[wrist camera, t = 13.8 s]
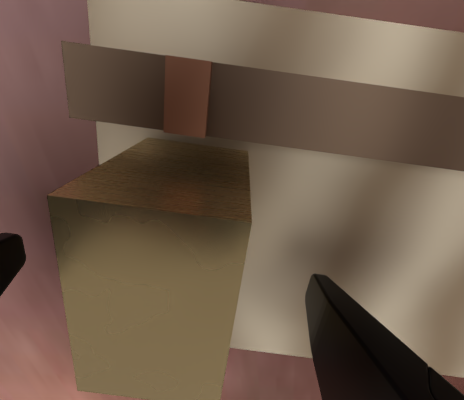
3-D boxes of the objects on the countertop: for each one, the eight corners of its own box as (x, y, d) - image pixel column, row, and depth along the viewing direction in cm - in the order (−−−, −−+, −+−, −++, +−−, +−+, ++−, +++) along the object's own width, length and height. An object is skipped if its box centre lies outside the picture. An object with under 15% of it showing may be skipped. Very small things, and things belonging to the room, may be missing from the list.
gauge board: (730, 81, 10) (1023, 80, 7) (508, 361, 17) (589, 446, 13) (107, -8, 10) (20, -64, 6) (121, 311, 17) (83, 383, 13)
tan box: (248, 151, 11) (252, 222, 5) (220, 331, 15) (206, 478, 9) (147, 137, 11) (47, 195, 5) (146, 322, 15) (89, 464, 9)
